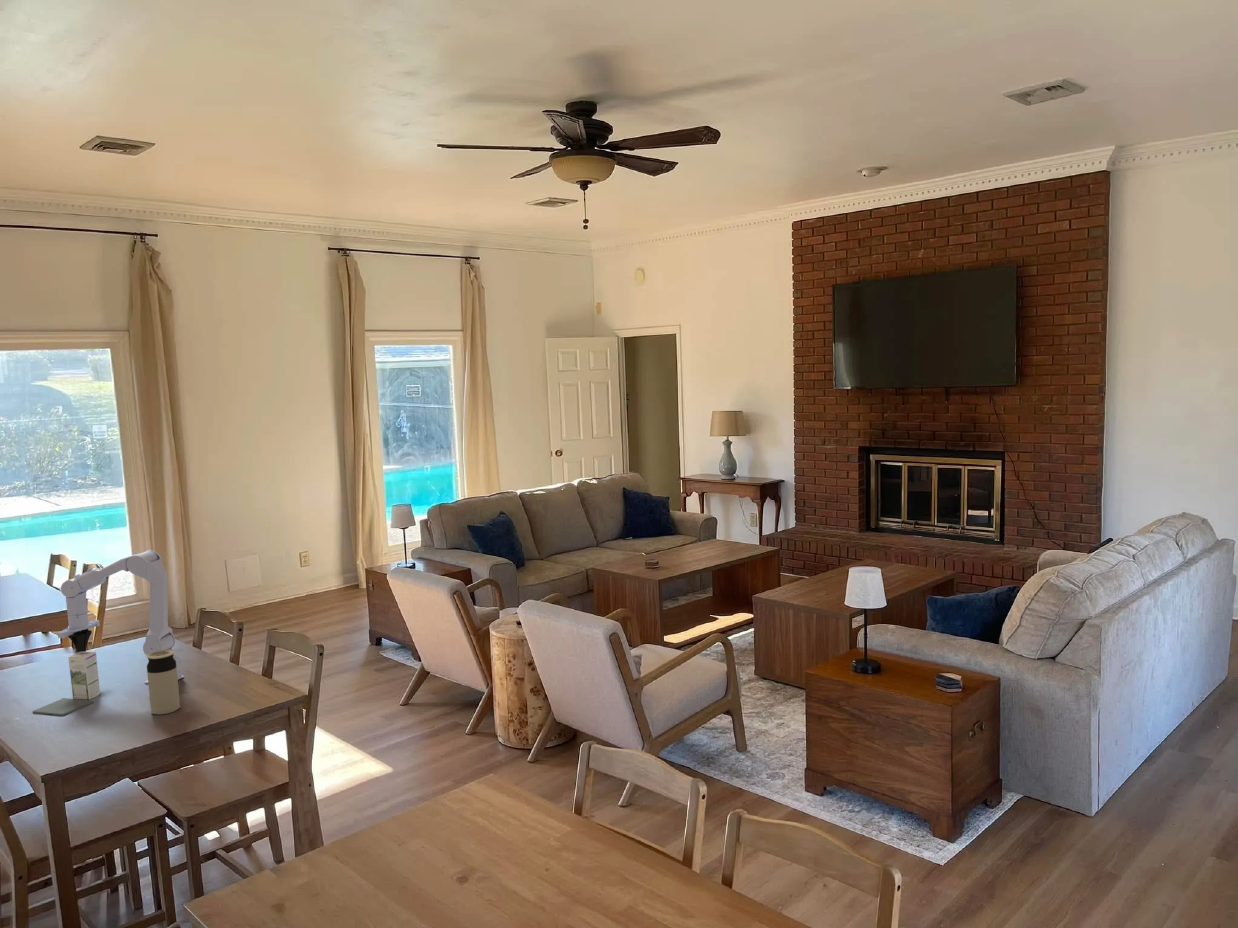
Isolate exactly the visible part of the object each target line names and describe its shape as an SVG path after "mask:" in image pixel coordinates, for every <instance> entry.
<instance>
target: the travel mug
mask: <svg viewBox="0 0 1238 928" xmlns="http://www.w3.org/2000/svg"><path fill="white" fill-rule="evenodd" d="M173 654H174V655H175V651H174V650H173V649H172V650H159V651H155V652H152V653H149V654H148V655H146V658H147V659H148V663H147V664H146V673H147V680H148V683H147V684H148V692H149V693H148V694H149V706H150V712H151V714H153V715H159V716H161V715H166V714H167V715H168V714H171V713H174V712H176V711H178V709H180V708H181V703H180V700H181V699H180V692H179V682H178V681H179V680H178V678H177V667H176V661H175V659H174V658H173Z"/></svg>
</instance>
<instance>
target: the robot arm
mask: <svg viewBox="0 0 1238 928" xmlns="http://www.w3.org/2000/svg"><path fill="white" fill-rule="evenodd" d="M162 558H163V557H162V556H161V555H160V554H159V553H158V552H156V551H155V550H152V549H148V550H145V551H143V552H138V553H135V554H132V555H128V556H126V557H123V558H120V559H119V560H116V561H115V562H113V563H111V564H109V565H107V566H104V568H99V567H90V568H88V569H87V570H86V571H85V572H83V573H81V574H76V575H74V578H70V579H67V580H65V581H63V582H62V583H61V585H60V592H61V594H62V595H63V596H65V603H66V604H65V605H66V612H67V621H68V623H67V624H68V626H67V627H66V628H64V629H63V630H61V631H58V632H57V637H58V639H65V638H66V637H68V639H70V641H71V642H72V643H73V645H74V647H75V650H76V653H77V652H87V647H88V642H89V639H90V637H91V635H92V634H93V633H92V632H93V631H92V630H91V629H92V628H95V627H100V626H101V624H100V620H99V619H94V620H91V621H89V614H88V604H87V602H88V601H87V592H88V591H89V590H92V589H94V588H95V587H98V586H100V585H103V584H104V583H105V582H106V580H107V578H108V577H110V576H112V575H115V574H117V573H119V572H121V571H124V572H127V573H128V572H129V573H131V574H133V575H136V576H137V577H140V578H141V579H144V580H146V581H147V582H149V629H148V631H147V633H146V635H145V641H144V643H143V646H142V652H143V653H144V654H145V656H147V655H148V654H149V653H152V652H155V651H159V650H173V647H174V646H175V644H176V638H175V636H174V633H173V628H172V627H170V626H169V612H168V611H169V576H168V572H167V570H166V568H165V566H164V563H163V561H162ZM173 658H174V659H175V661H176V667H177V678H178V681H179V680H180V679H182V678H185V675H183V669H182V660H181V658H180V656H178V655H175V653H174V654H173ZM144 684H148V679H147V680H145V681H144Z"/></svg>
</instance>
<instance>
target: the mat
mask: <svg viewBox="0 0 1238 928" xmlns="http://www.w3.org/2000/svg"><path fill="white" fill-rule="evenodd" d="M94 703H95V702H94V700H91V699H90V700H79V699H73V698H67V697H63V698H61V699H59V700H55V701H54V702H51V703H49V704H46V705H43V706H42V707H39V708H36V709H34V710H32V714H38V713H39V714H40V713H41V714H40V715H48V714H53V715H52V716H57V715H58V717H64V716H66V714H67V715H70V714H71V713H73V711H74V712H75V711H76V712H77V711H78V710H80V709H82V708H84V707H87V706H89V705H92V704H94ZM39 714H38V715H39Z"/></svg>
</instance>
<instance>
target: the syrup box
mask: <svg viewBox="0 0 1238 928" xmlns="http://www.w3.org/2000/svg"><path fill="white" fill-rule="evenodd" d="M97 659H98V658H97V652H96V651H86V652H77V651H76V652H75V653H74V654H73V653H72V654H71V655H70V656H68V665H69V666H68V667H69V673H70V674H69V675H70V682H71V693H72V699H79V700H90V701H91V700H93V699H94V698H95V697H98V696H100V695H101V687H100V677H99V670H98V669H99V668H98V660H97Z"/></svg>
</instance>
